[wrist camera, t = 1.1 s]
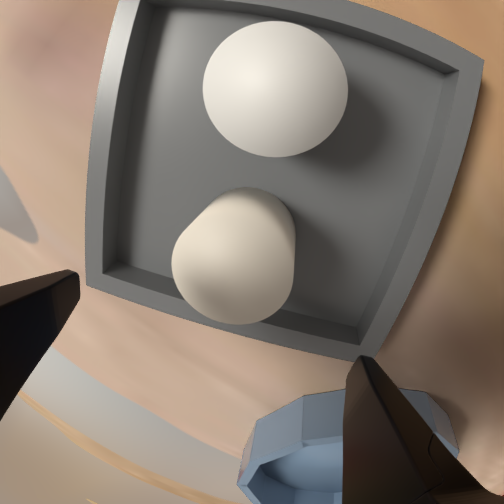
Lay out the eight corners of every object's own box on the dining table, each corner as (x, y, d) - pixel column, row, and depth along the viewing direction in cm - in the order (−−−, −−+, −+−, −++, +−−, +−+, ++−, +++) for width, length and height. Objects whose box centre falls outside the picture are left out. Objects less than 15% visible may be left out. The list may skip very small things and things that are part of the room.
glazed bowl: (483, 397, 20) (497, 431, 16) (383, 493, 27) (385, 520, 24) (280, 365, 20) (274, 411, 17) (231, 475, 28) (224, 506, 24)
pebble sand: (307, 201, 15) (309, 232, 11) (281, 286, 17) (274, 336, 13) (211, 176, 16) (180, 199, 12) (195, 262, 18) (166, 305, 14)
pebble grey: (344, 62, 12) (361, 42, 8) (319, 158, 14) (327, 173, 10) (242, 38, 13) (220, 11, 9) (220, 133, 15) (190, 140, 11)
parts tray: (463, 65, 12) (484, 60, 10) (365, 341, 19) (370, 365, 17) (145, -9, 12) (126, -22, 10) (104, 268, 19) (86, 285, 17)
